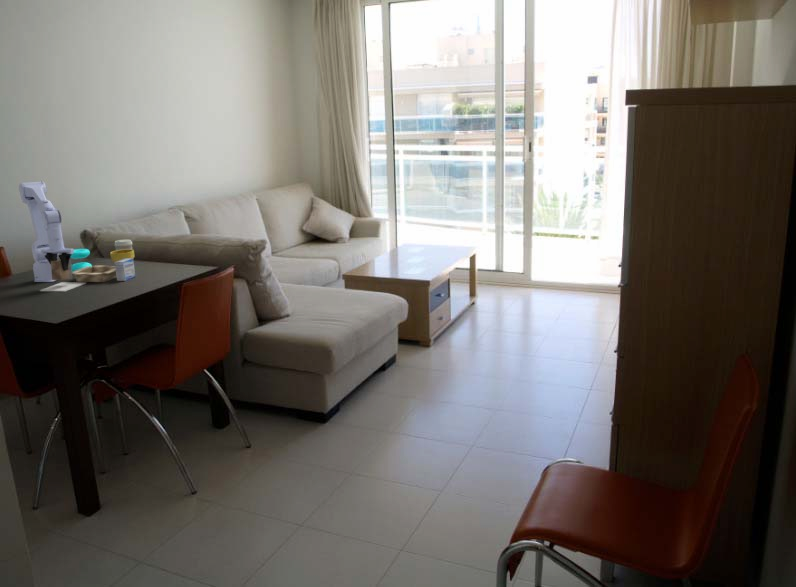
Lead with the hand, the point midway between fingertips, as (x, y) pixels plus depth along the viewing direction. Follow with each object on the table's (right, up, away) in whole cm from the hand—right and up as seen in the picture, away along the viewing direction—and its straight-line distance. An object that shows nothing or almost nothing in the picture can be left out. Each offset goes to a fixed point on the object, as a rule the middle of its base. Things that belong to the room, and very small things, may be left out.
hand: (60, 270), depth 293 cm
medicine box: (+23, -4, +13) cm, 27 cm away
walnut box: (0, -4, +1) cm, 4 cm away
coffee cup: (+11, +4, +44) cm, 46 cm away
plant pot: (+16, 0, +28) cm, 33 cm away
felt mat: (0, -7, +2) cm, 8 cm away
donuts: (-7, +1, +34) cm, 35 cm away
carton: (+9, -3, +16) cm, 19 cm away
